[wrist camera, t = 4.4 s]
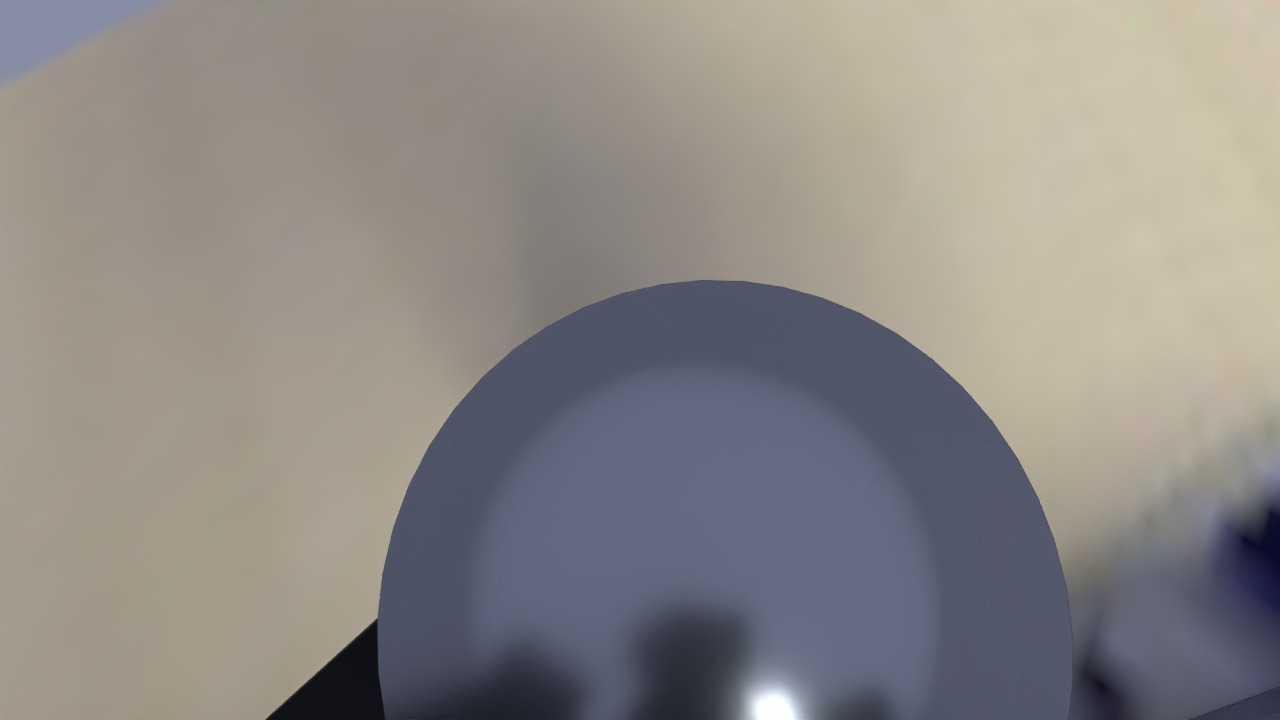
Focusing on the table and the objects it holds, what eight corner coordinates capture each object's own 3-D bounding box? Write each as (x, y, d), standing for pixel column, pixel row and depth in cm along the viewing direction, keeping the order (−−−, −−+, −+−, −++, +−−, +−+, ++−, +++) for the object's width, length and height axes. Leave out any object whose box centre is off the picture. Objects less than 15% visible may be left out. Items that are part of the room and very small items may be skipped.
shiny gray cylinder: (595, 695, 15) (474, 1144, 4) (540, 498, 17) (315, 384, 5) (786, 630, 16) (1200, 861, 4) (720, 441, 17) (908, 208, 5)
